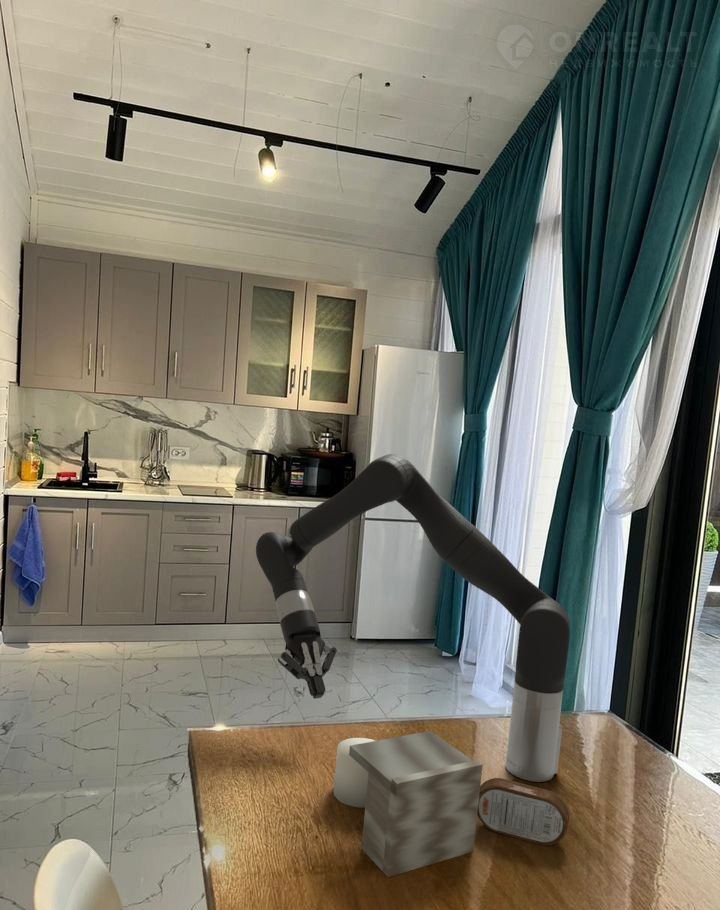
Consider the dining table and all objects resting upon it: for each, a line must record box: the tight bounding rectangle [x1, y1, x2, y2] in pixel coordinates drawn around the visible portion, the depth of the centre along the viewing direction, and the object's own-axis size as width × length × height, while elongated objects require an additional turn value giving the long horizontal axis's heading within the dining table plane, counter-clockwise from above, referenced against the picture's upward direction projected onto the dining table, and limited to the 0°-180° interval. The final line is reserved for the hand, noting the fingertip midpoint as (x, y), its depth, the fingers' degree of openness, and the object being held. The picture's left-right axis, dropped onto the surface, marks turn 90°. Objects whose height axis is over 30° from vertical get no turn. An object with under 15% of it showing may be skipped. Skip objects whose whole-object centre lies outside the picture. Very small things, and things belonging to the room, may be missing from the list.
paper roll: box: [333, 737, 376, 809], centre depth 128 cm, size 9×9×8 cm
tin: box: [477, 777, 570, 846], centre depth 119 cm, size 15×3×8 cm, turn 71°
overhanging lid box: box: [349, 730, 484, 878], centre depth 115 cm, size 16×14×14 cm
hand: (319, 696), depth 142 cm, fingers closed
